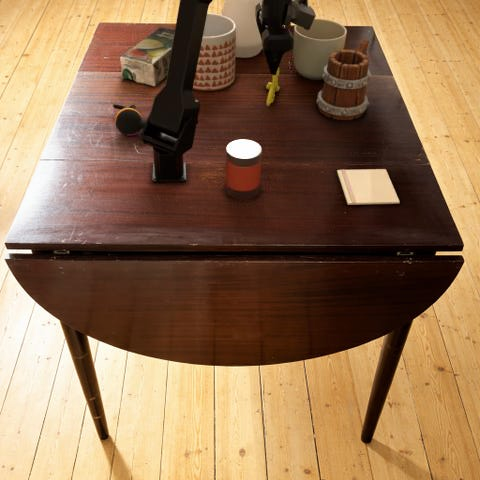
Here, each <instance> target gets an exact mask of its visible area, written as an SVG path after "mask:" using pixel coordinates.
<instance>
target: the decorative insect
mask: <svg viewBox="0 0 480 480" xmlns="http://www.w3.org/2000/svg"><path fill="white" fill-rule="evenodd" d="M280 73H281V72H280V66H279V67H278V70H277V73H276V75H272V77H271V78H272V80H271V82H270V81H269V82H268V83H267V84H266V85H265V88H266V90H268V94H267V98H266V107H270V105H271V104H272V103H274V101H275V96H276V92H279V91H280V89H281V87H280V86H279V79H278V78H279V76H280Z"/></svg>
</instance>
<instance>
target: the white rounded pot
mask: <svg viewBox="0 0 480 480" xmlns="http://www.w3.org/2000/svg"><path fill="white" fill-rule="evenodd" d="M259 2H262V0H224V2H223V6H222V10H221V13H220V15H222V16H225V17H228V18H230V19H231V20H233V21H234V23H235V24H236V53H235V58H245V59H246V58H252V57H255V56H257V55H258V54H260V53H261V51H262V50H263V47H262V40H261V36H260V33H259V30H258V26H257V22H256V17H255V6H256V5H257V4H258V3H259ZM259 18H260V15H259Z"/></svg>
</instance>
